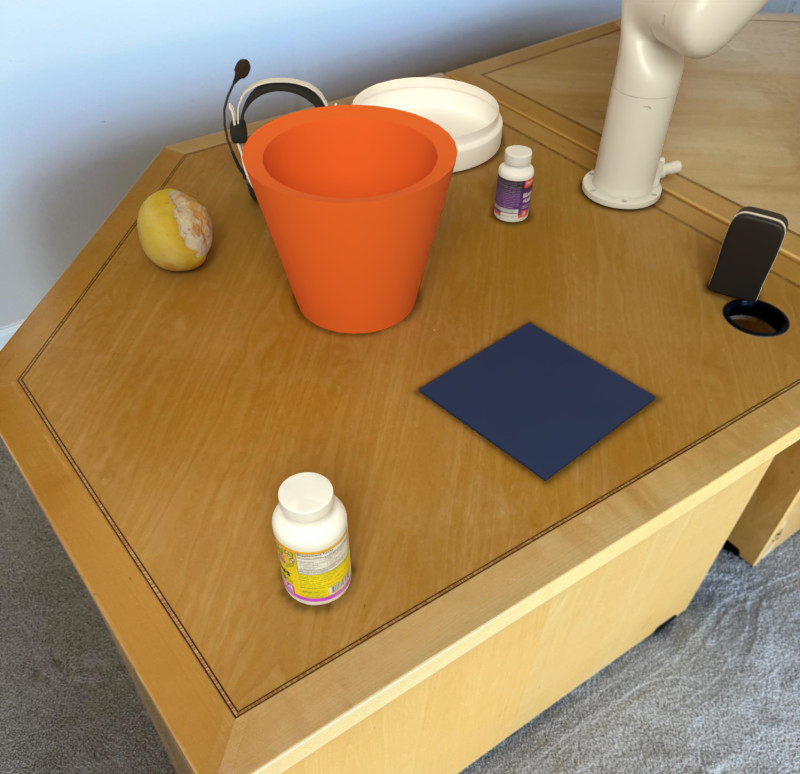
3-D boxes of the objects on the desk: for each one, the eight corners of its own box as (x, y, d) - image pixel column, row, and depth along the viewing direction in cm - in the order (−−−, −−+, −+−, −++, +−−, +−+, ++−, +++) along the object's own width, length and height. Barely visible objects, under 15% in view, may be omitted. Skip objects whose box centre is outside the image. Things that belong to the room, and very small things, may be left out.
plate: (532, 148, 132) (536, 115, 128) (404, 191, 123) (405, 156, 119) (440, 95, 146) (442, 64, 142) (319, 129, 137) (317, 96, 133)
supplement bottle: (283, 555, 76) (267, 464, 66) (350, 550, 76) (343, 460, 66) (283, 611, 72) (264, 523, 62) (353, 606, 72) (346, 518, 62)
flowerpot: (484, 315, 101) (500, 166, 86) (319, 379, 93) (304, 226, 78) (386, 231, 115) (385, 89, 99) (234, 280, 106) (207, 133, 91)
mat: (529, 324, 100) (529, 322, 100) (655, 399, 91) (655, 396, 91) (418, 391, 92) (418, 388, 91) (545, 481, 82) (546, 478, 82)
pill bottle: (526, 225, 116) (535, 160, 109) (491, 221, 117) (498, 157, 109) (529, 207, 120) (538, 144, 112) (495, 204, 120) (502, 140, 113)
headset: (232, 212, 118) (208, 70, 103) (238, 187, 123) (216, 48, 108) (343, 211, 118) (335, 70, 103) (344, 187, 123) (337, 48, 108)
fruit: (159, 292, 104) (141, 223, 97) (138, 254, 110) (119, 186, 103) (230, 274, 107) (218, 205, 100) (206, 238, 113) (192, 170, 106)
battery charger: (762, 291, 105) (796, 212, 97) (755, 305, 103) (789, 226, 94) (712, 277, 108) (741, 198, 99) (704, 290, 105) (733, 211, 97)
